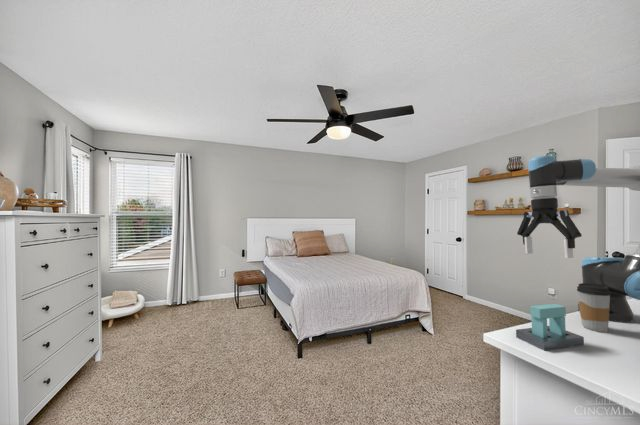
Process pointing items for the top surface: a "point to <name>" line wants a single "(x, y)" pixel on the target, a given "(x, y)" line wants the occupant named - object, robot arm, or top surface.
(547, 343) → the grey slotted slab
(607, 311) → the coffee cup
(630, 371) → the top surface
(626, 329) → the top surface
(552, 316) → the teal u-shaped block
